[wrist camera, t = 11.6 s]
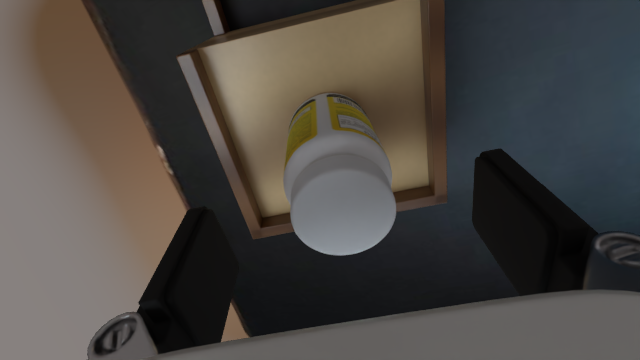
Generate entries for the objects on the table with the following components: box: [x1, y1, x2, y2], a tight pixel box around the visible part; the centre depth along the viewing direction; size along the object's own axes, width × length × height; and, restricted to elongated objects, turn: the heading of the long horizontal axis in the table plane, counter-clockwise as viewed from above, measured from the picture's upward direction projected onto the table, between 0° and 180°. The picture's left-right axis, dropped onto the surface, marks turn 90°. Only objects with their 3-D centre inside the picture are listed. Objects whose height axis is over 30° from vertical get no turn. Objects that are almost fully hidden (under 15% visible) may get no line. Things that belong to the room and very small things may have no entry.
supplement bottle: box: [283, 93, 396, 255], centre depth 15 cm, size 5×5×8 cm
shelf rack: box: [176, 0, 447, 239], centre depth 19 cm, size 24×13×9 cm, turn 12°
